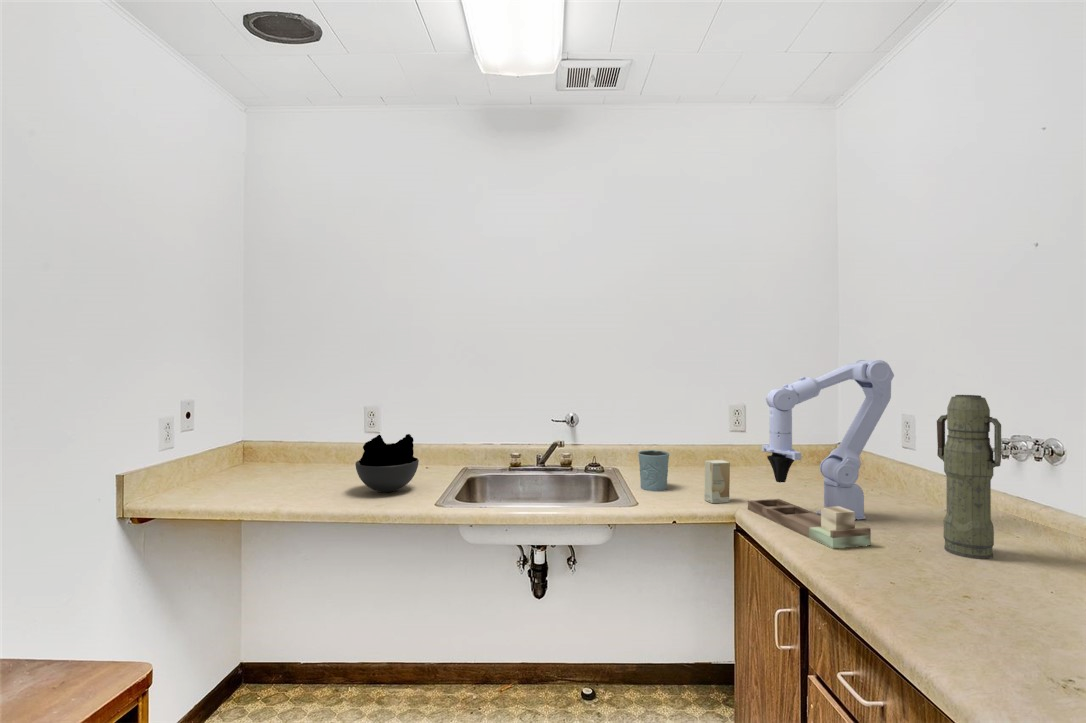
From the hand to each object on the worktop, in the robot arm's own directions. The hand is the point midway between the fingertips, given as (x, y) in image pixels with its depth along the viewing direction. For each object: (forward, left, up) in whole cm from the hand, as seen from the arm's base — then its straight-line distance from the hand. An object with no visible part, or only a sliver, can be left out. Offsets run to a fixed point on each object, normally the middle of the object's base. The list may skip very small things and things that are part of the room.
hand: (780, 481), depth 152 cm
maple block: (0, +22, -7) cm, 23 cm away
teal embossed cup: (+21, -38, -10) cm, 44 cm away
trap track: (0, +9, -9) cm, 13 cm away
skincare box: (+9, -18, -10) cm, 22 cm away
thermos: (-23, +34, -10) cm, 42 cm away
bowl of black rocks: (+108, -53, -10) cm, 121 cm away
